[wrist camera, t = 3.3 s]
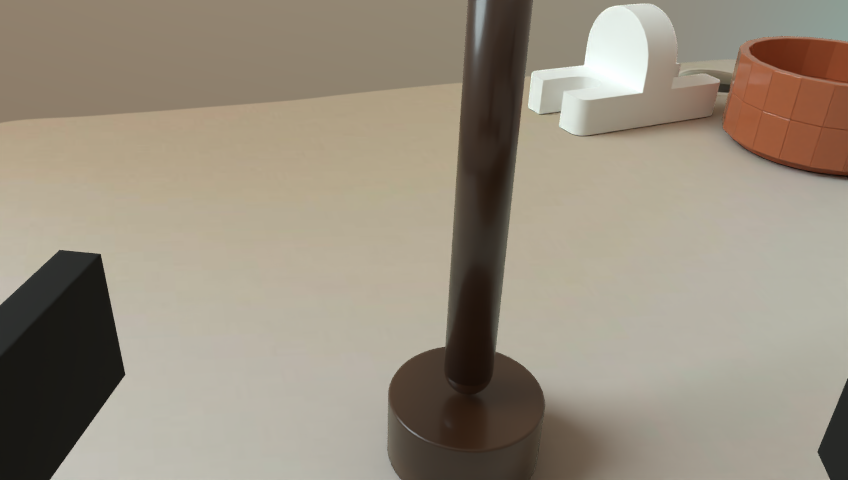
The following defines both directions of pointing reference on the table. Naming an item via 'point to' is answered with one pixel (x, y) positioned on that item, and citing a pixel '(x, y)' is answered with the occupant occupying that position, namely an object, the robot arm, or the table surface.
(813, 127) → the bowl
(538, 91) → the slotted bracket
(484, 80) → the dark brown post
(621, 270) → the table surface
